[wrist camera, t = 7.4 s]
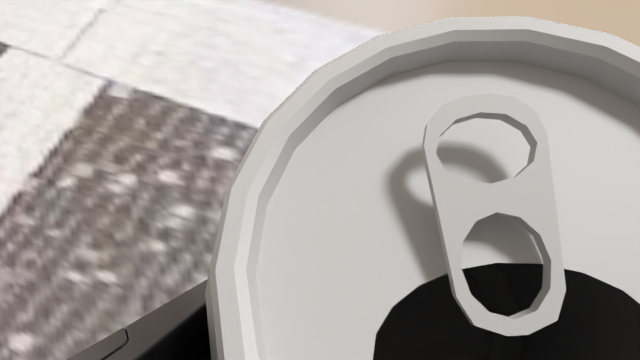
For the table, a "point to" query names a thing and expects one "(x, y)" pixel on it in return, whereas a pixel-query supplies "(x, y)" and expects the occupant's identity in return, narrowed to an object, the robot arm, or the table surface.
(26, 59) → the table surface
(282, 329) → the can
